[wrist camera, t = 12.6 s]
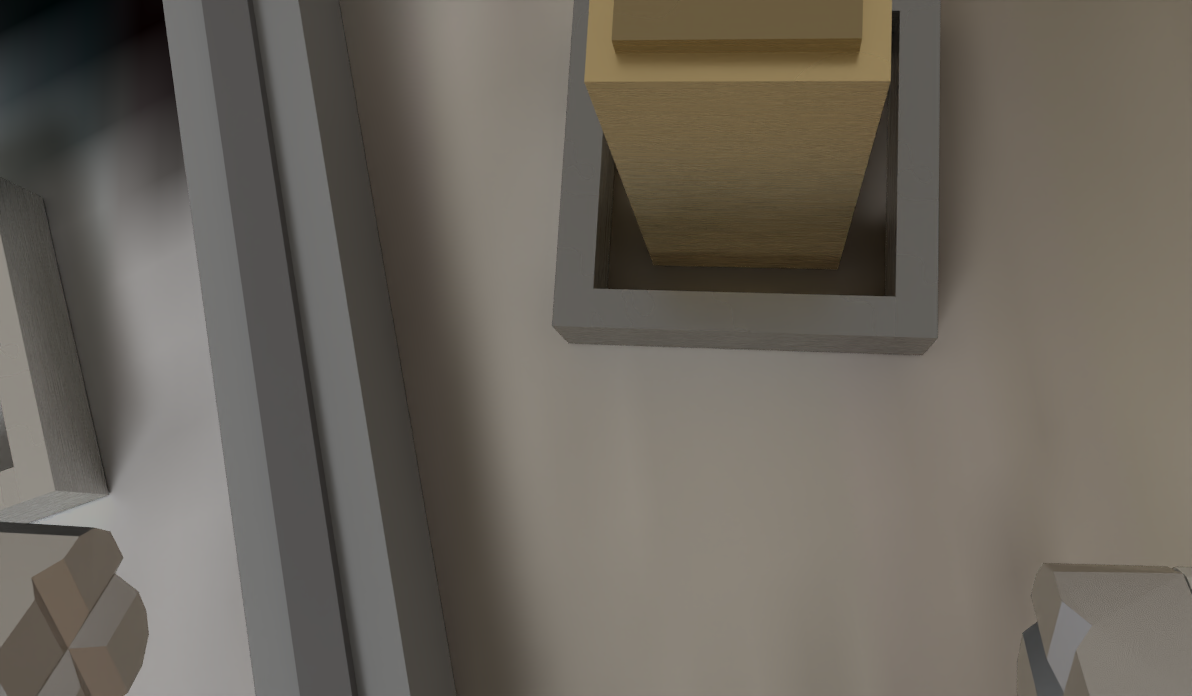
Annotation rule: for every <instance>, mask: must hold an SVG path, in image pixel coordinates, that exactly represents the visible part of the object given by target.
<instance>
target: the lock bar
mask: <svg viewBox="0 0 1192 696" xmlns="http://www.w3.org/2000/svg"><path fill="white" fill-rule="evenodd" d="M891 30H892V0H589V16H588V31H587V46H586V62H585V77H584V83H585V85H586V88H587V90H588V93H589V96H590V98H591V101H592V104H593V106H594V109H595V112H596V114H597V117H598V119H599V122H600V125H601V127H602V130H603V133H604V135H605V138H606V141H607V143H608V146H609V149H610V151H611V154H612V156H613V159H614V162H615V164H616V167H617V170H618V172H619V175H620V178H621V180H622V183H623V185H624V188H625V191H626V193H627V196H628V199H629V201H630V204H631V207H632V209H633V212H634V214H635V217H636V220H637V222H638V225H639V228H640V230H641V233H642V236H643V238H644V241H645V244H646V246H647V249H648V251H649V254H650V257H651V259H652V262H653V265H664V266H707V267H751V268H794V269H838V266H839V263H840V259H841V256H842V252H843V249H844V245H845V241H846V238H847V234H848V231H849V227H850V224H851V220H852V217H853V213H854V209H855V206H856V202H857V199H858V195H859V192H860V188H861V185H862V181H863V177H864V174H865V170H866V167H867V163H868V160H869V156H870V153H871V149H872V146H873V142H874V138H875V135H876V131H877V128H878V124H879V121H880V117H881V114H882V110H883V106H884V103H885V99H886V96H887V92H888V89H889V85H890V82H891Z"/></svg>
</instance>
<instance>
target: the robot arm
mask: <svg viewBox="0 0 1192 696" xmlns="http://www.w3.org/2000/svg"><path fill="white" fill-rule="evenodd" d="M122 560H123V556H122V554H121V552H120V550H119V548H118V546H117V544H116V542H115V540H114V538H113V536H112V534H111V532H110V531H106V530H102V529H97V528H91V527H75V526H60V525H44V524H29V523H14V522H0V696H124V695H125V694H127V693H128V691H129V689H130V688H131V686H132V684H133V682H134V680H135V678H136V676H137V674H138V672H139V671H140V669H141V667H142V664H143V659H144V654H145V650H146V645H147V640H148V635H149V631H148V622H147V613H146V609H145V606H144V604H143V602H142V599H141V597H140V594H139V592H138V591H137V590H136V589H134V588H133V587H132V586H130V585H129V584H128V583H127V582H125V581H124V580H123V579H122V578H120V577H119V576H118V575H116V574H115V573H116V571H117V569H118V567H119V565H120V563H121V561H122ZM1031 599H1032V603H1033V607H1034V611H1035V615H1036V619H1037V622H1036V623H1035V624H1034V625H1032V626H1031V627H1030V628H1028V629H1027V630H1026V631H1024V632H1023V633H1022V638H1021V643H1020V649H1019V654H1018V660H1017V696H1192V567H1174V568H1169V567H1166V566H1131V565H1096V564H1061V563H1043V564H1042V565H1041V567H1040V568H1039V570H1038V572H1037V573H1036V576H1035V580H1034V584H1033V589H1032V593H1031Z"/></svg>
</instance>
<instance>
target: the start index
mask: <svg viewBox="0 0 1192 696" xmlns="http://www.w3.org/2000/svg"><path fill="white" fill-rule="evenodd" d="M0 402H1V407H2V412H3V417H4V421H5V426H6V431H7V436H8V441H9V446H10V451H11V455H12V460H13V465H14V467H12V468H9V469H6V470H4V471H1V472H0V522H14V523H30V522H33V521H36V520H39V519H41V518H44V517H47V516H50V515H53V514H56V513H59V512H61V511H64V510H67V509H70V508H73V507H76V506H78V505H81V504H84V503H87V502H90V501H93V500H96V499H98V498H101V497H104V496H107V495H109V493H108V488H107V484H106V479H105V475H104V470H103V466H102V462H101V457H100V453H99V448H98V444H97V439H96V435H95V430H94V426H93V421H92V417H91V413H90V408H89V404H88V399H87V395H86V390H85V386H84V381H83V377H82V372H81V368H80V363H79V359H78V355H77V350H76V346H75V341H74V337H73V332H72V328H71V323H70V319H69V314H68V310H67V305H66V301H65V297H64V292H63V288H62V283H61V279H60V274H59V270H58V265H57V261H56V256H55V252H54V247H53V243H52V239H51V234H50V230H49V225H48V221H47V216H46V212H45V207H44V203H43V198H42V197H40V196H38V195H36V194H34V193H32V192H30V191H28V190H26V189H24V188H22V187H20V186H18V185H16V184H14V183H12V182H10V181H7V180H5V179H3V178H1V177H0Z"/></svg>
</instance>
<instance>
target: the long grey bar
mask: <svg viewBox="0 0 1192 696" xmlns="http://www.w3.org/2000/svg"><path fill="white" fill-rule="evenodd" d="M163 7H164V14H165V22H166V29H167V37H168V44H169V52H170V59H171V67H172V74H173V82H174V89H175V97H176V104H177V112H178V119H179V127H180V134H181V141H182V149H183V156H184V164H185V171H186V179H187V186H188V194H189V201H190V209H191V216H192V224H193V231H194V239H195V246H196V253H197V261H198V268H199V276H200V283H201V291H202V298H203V306H204V313H205V321H206V328H207V336H208V343H209V351H210V358H211V366H212V373H213V380H214V388H215V395H216V403H217V410H218V418H219V425H220V433H221V440H222V448H223V455H224V463H225V470H226V478H227V485H228V493H229V500H230V507H231V515H232V522H233V530H234V537H235V545H236V552H237V560H238V567H239V575H240V582H241V590H242V597H243V605H244V612H245V619H246V627H247V634H248V642H249V649H250V657H251V664H252V672H253V679H254V687H255V694H256V696H457V695H456V689H455V683H454V678H453V672H452V666H451V660H450V654H449V648H448V642H447V636H446V630H445V624H444V619H443V613H442V607H441V601H440V595H439V589H438V583H437V577H436V571H435V565H434V559H433V554H432V548H431V542H430V536H429V530H428V524H427V518H426V512H425V506H424V500H423V494H422V489H421V483H420V477H419V471H418V465H417V459H416V453H415V447H414V441H413V435H412V430H411V424H410V418H409V412H408V406H407V400H406V394H405V388H404V382H403V376H402V370H401V365H400V359H399V353H398V347H397V341H396V335H395V329H394V323H393V317H392V311H391V306H390V300H389V294H388V288H387V282H386V276H385V270H384V264H383V258H382V252H381V246H380V241H379V235H378V229H377V223H376V217H375V211H374V205H373V199H372V193H371V187H370V181H369V176H368V170H367V164H366V158H365V152H364V146H363V140H362V134H361V128H360V122H359V117H358V111H357V105H356V99H355V93H354V87H353V81H352V75H351V69H350V63H349V57H348V52H347V46H346V40H345V34H344V28H343V22H342V16H341V10H340V4H339V0H163Z"/></svg>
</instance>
